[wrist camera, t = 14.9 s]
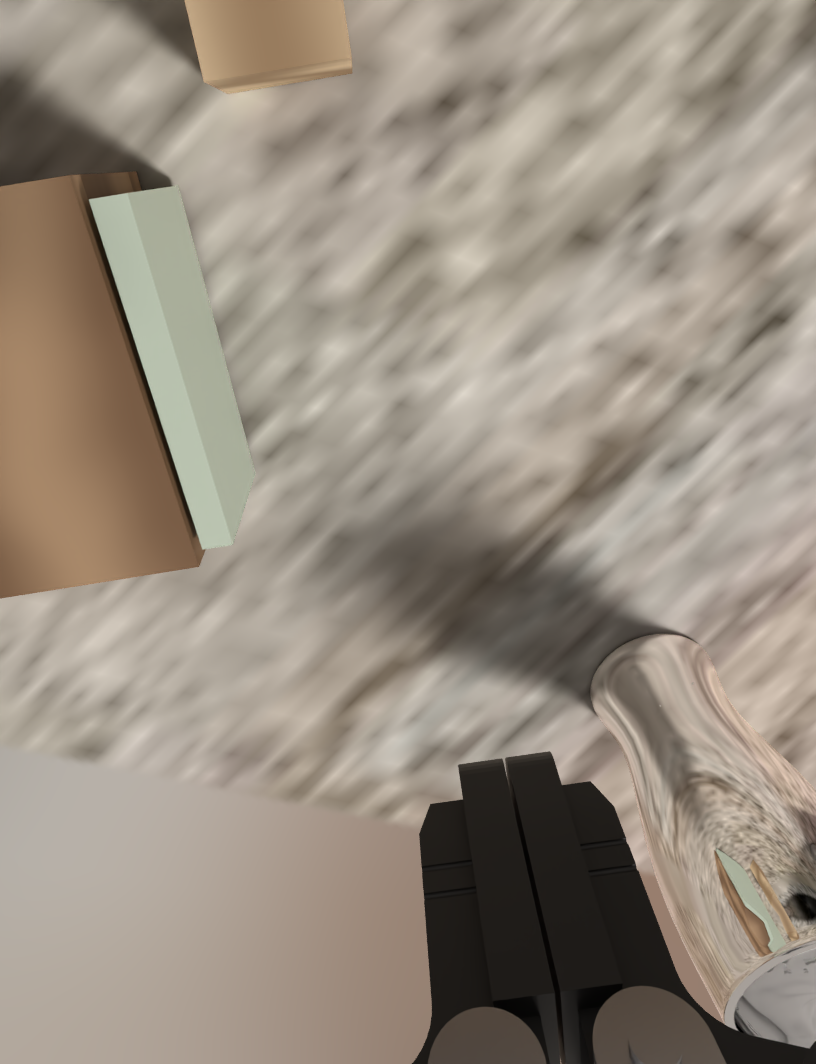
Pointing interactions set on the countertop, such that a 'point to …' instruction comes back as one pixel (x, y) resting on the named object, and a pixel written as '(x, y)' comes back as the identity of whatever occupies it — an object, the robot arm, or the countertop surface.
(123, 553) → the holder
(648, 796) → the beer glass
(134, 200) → the tray
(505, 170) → the countertop surface
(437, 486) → the countertop surface
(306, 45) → the oak block
